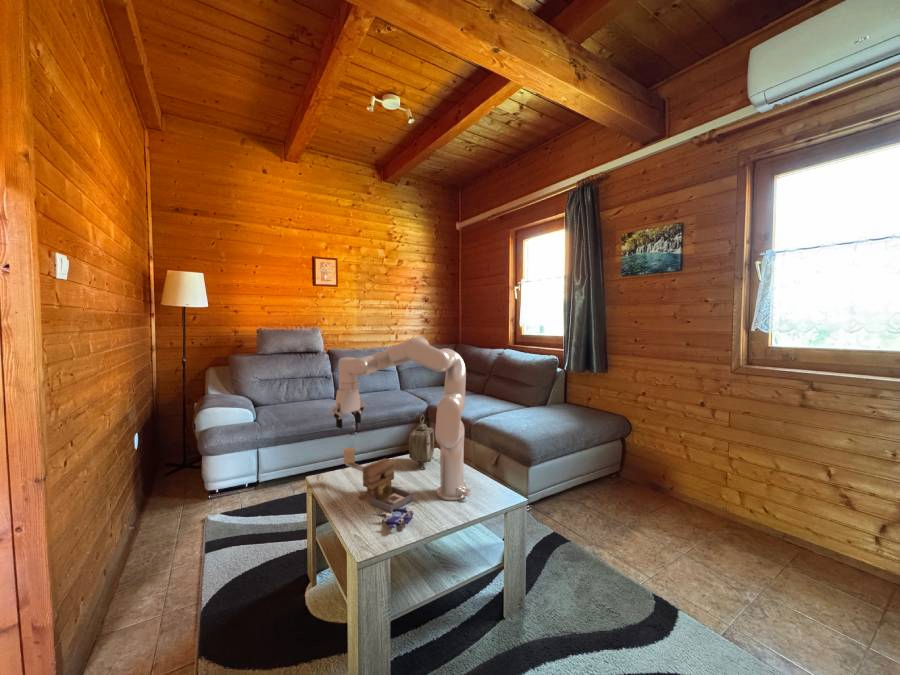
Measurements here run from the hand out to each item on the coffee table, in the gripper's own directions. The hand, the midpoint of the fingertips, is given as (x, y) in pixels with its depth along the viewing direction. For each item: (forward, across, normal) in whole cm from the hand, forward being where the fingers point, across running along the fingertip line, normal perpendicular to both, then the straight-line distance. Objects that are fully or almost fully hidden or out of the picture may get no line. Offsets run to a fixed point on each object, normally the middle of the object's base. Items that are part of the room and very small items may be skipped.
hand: (348, 425), depth 158 cm
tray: (+26, 0, +26) cm, 37 cm away
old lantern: (+26, -35, +11) cm, 45 cm away
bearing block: (+26, 0, +17) cm, 31 cm away
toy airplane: (+27, +10, +38) cm, 47 cm away
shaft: (+18, 0, +9) cm, 20 cm away
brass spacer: (+26, 0, +22) cm, 34 cm away
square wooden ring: (+25, 0, +25) cm, 35 cm away
